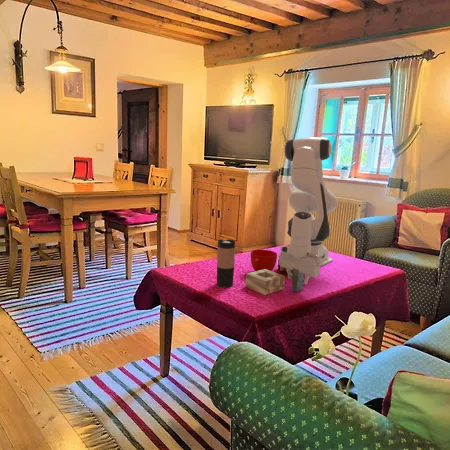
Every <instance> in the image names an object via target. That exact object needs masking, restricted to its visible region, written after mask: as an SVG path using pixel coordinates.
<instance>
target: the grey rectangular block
mask: <svg viewBox="0 0 450 450" xmlns="http://www.w3.org/2000/svg"><path fill="white" fill-rule="evenodd" d="M292 274H293V275H292V279H291V288H290V289H291V291H293V292H296V293H299V292H301V291H303V290H304V289H303V288H304V284H303V283H302V282H303V279H305V278H304V277H305V274H302V273H299V270H298V269H295V268H293V270H292Z"/></svg>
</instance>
